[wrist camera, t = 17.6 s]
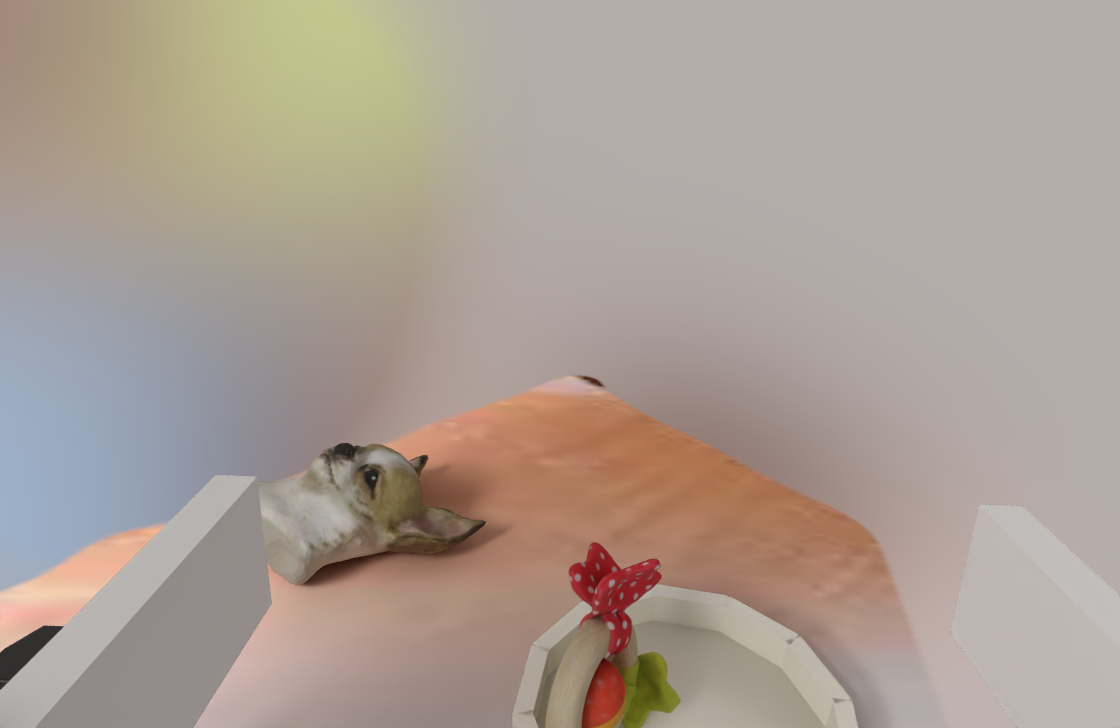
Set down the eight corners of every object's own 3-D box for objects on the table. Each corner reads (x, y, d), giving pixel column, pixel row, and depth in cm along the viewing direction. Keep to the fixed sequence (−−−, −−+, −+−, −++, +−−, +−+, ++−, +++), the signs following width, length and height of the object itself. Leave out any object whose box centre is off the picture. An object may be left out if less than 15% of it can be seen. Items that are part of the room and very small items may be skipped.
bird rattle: (629, 841, 35) (692, 680, 41) (636, 721, 28) (710, 550, 35) (513, 780, 37) (590, 636, 44) (496, 656, 31) (589, 507, 37)
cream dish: (477, 879, 33) (477, 837, 32) (551, 603, 48) (553, 567, 47) (878, 968, 31) (896, 927, 30) (825, 649, 46) (835, 612, 45)
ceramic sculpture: (211, 430, 49) (425, 386, 57) (224, 537, 53) (422, 482, 61) (256, 521, 41) (495, 456, 49) (267, 640, 45) (488, 561, 53)
